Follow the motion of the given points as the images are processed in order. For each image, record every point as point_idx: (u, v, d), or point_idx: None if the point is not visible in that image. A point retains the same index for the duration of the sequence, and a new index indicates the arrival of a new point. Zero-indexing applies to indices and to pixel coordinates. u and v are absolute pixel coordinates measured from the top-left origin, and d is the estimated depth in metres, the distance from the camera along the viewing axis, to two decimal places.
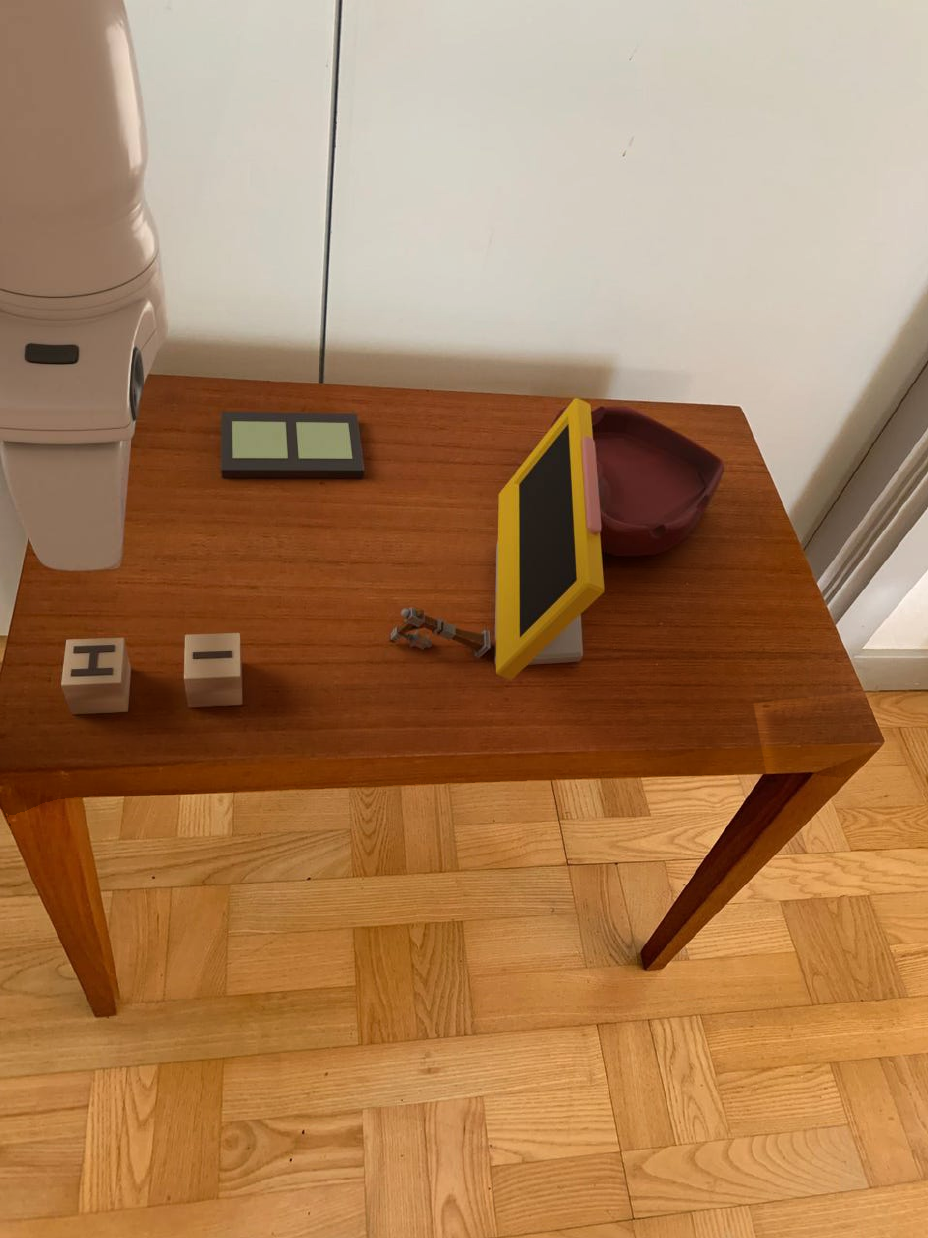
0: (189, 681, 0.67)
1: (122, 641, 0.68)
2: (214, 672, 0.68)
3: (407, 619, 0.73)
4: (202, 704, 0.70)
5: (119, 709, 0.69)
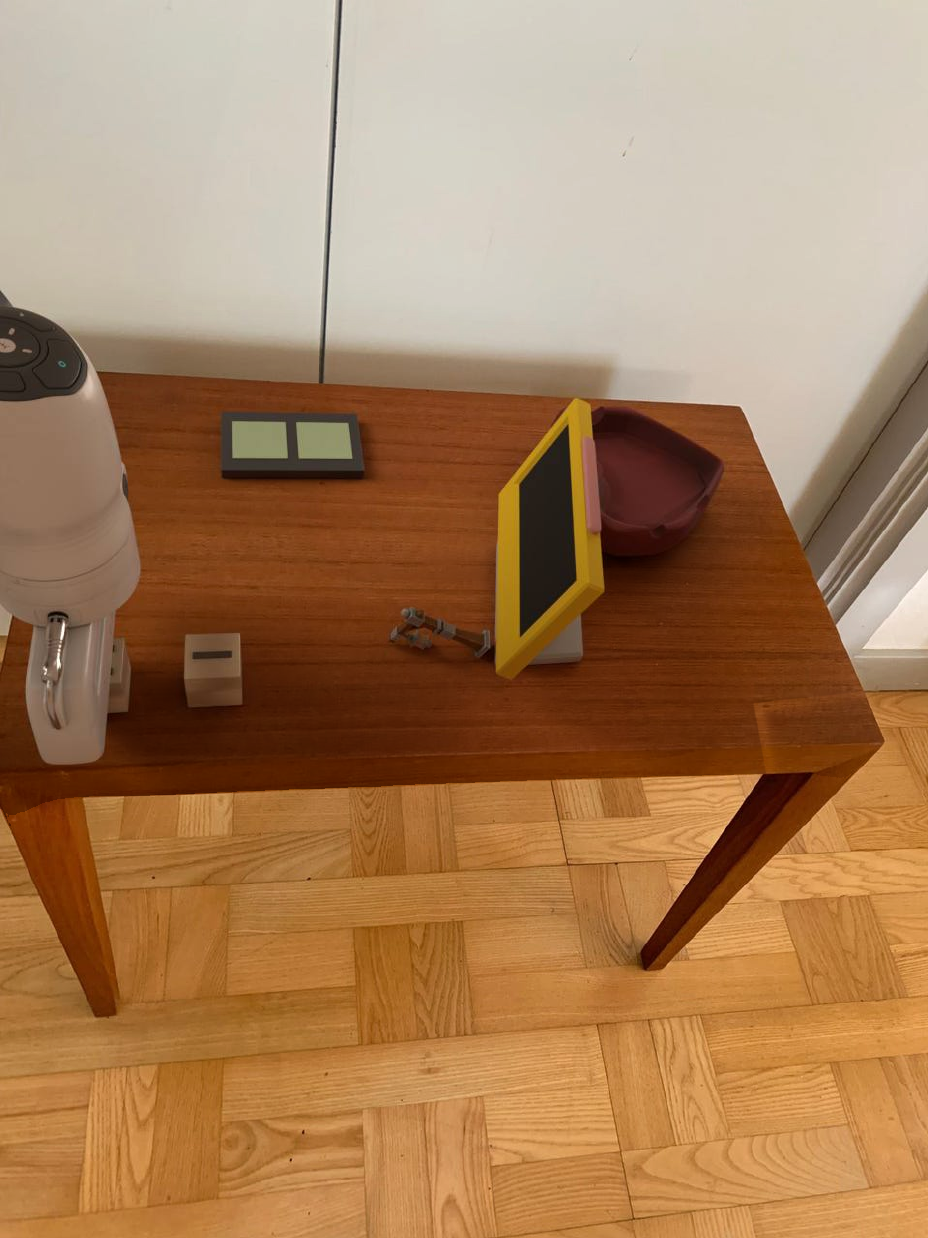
0: (189, 681, 0.67)
1: (122, 641, 0.68)
2: (214, 672, 0.68)
3: (407, 619, 0.73)
4: (202, 704, 0.70)
5: (119, 709, 0.69)
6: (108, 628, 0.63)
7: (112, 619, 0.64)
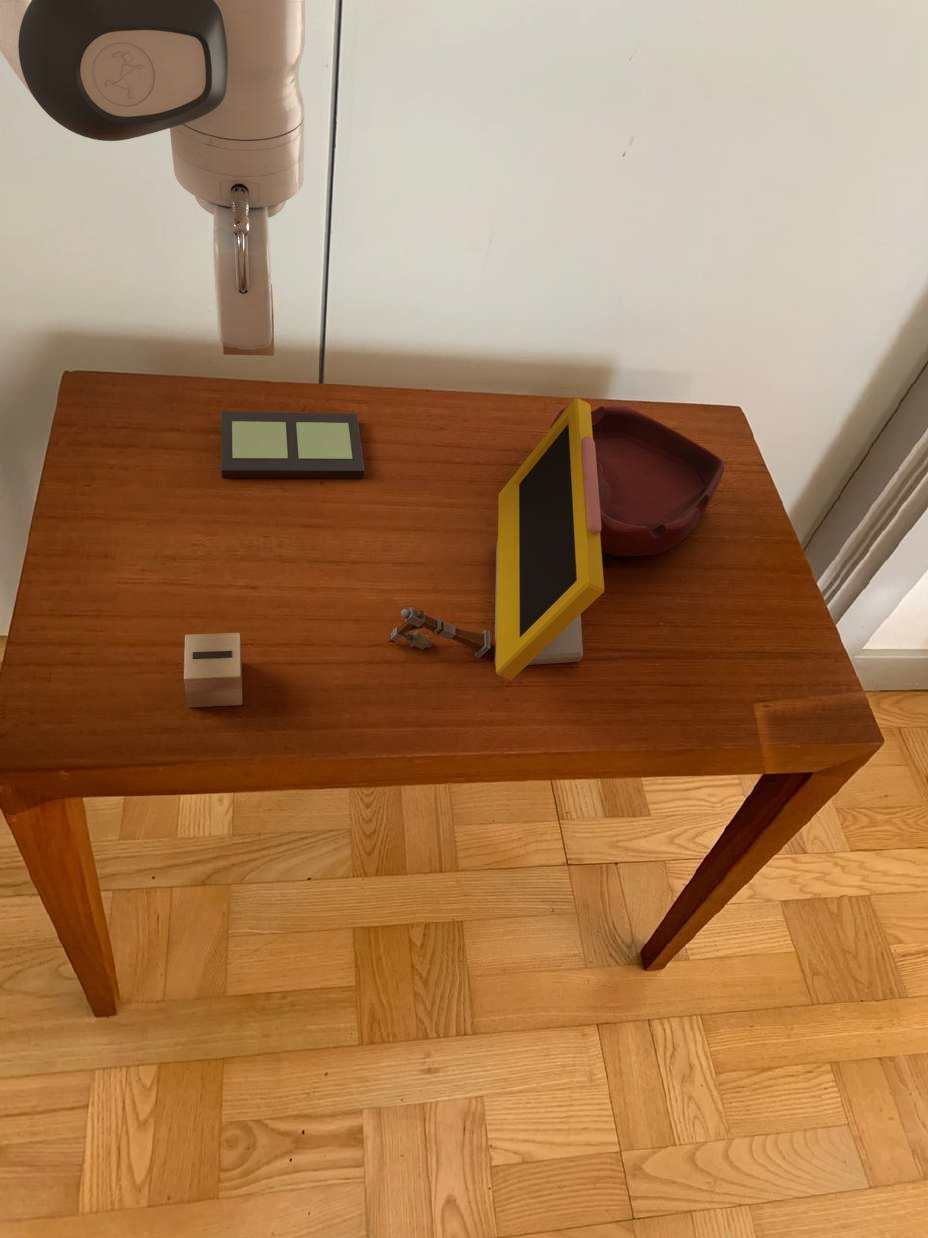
0: (189, 681, 0.67)
1: None
2: (214, 672, 0.68)
3: (407, 619, 0.73)
4: (202, 704, 0.70)
5: (266, 351, 0.74)
6: None
7: None
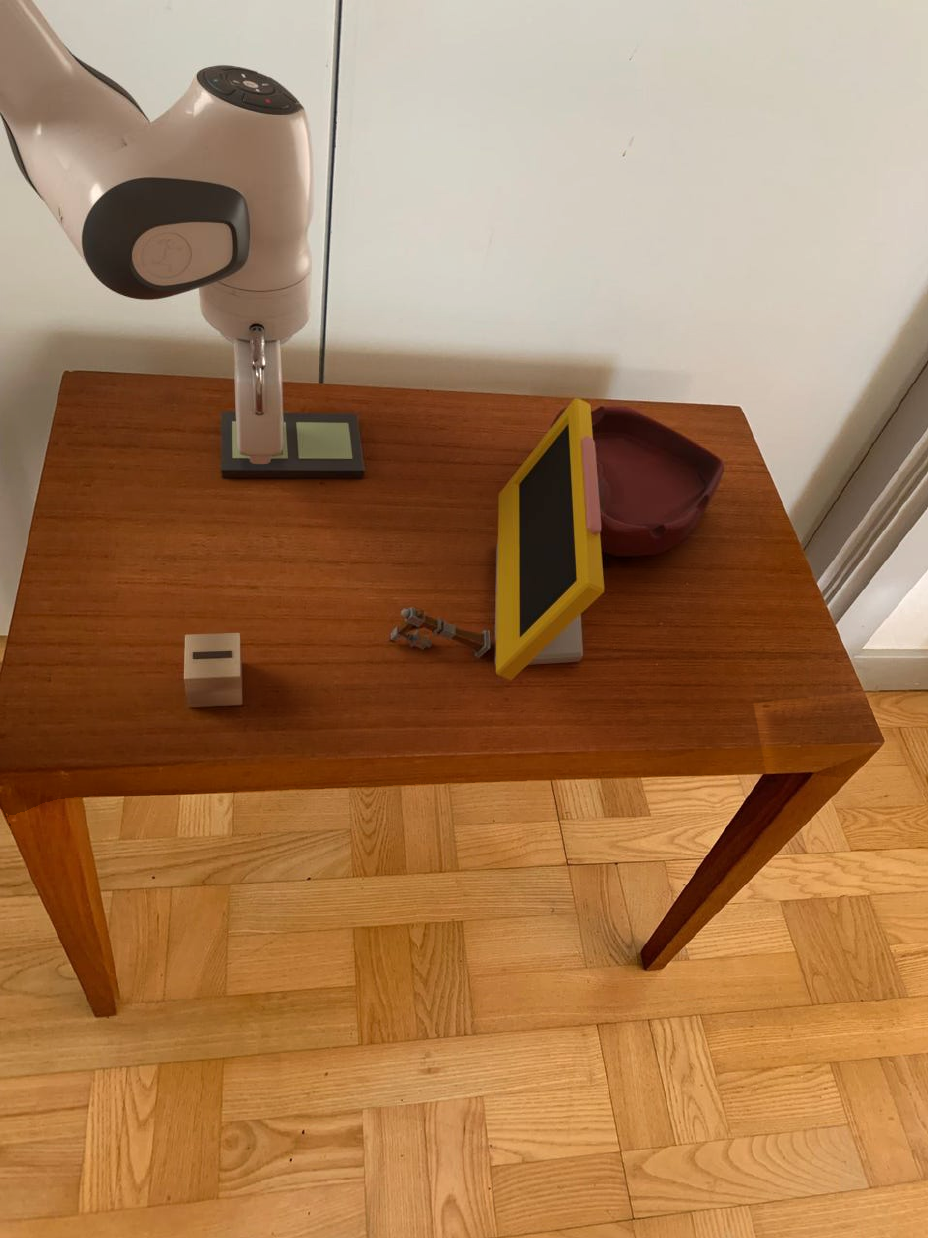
0: (189, 681, 0.67)
1: None
2: (214, 672, 0.68)
3: (407, 619, 0.73)
4: (202, 704, 0.70)
5: None
6: None
7: None
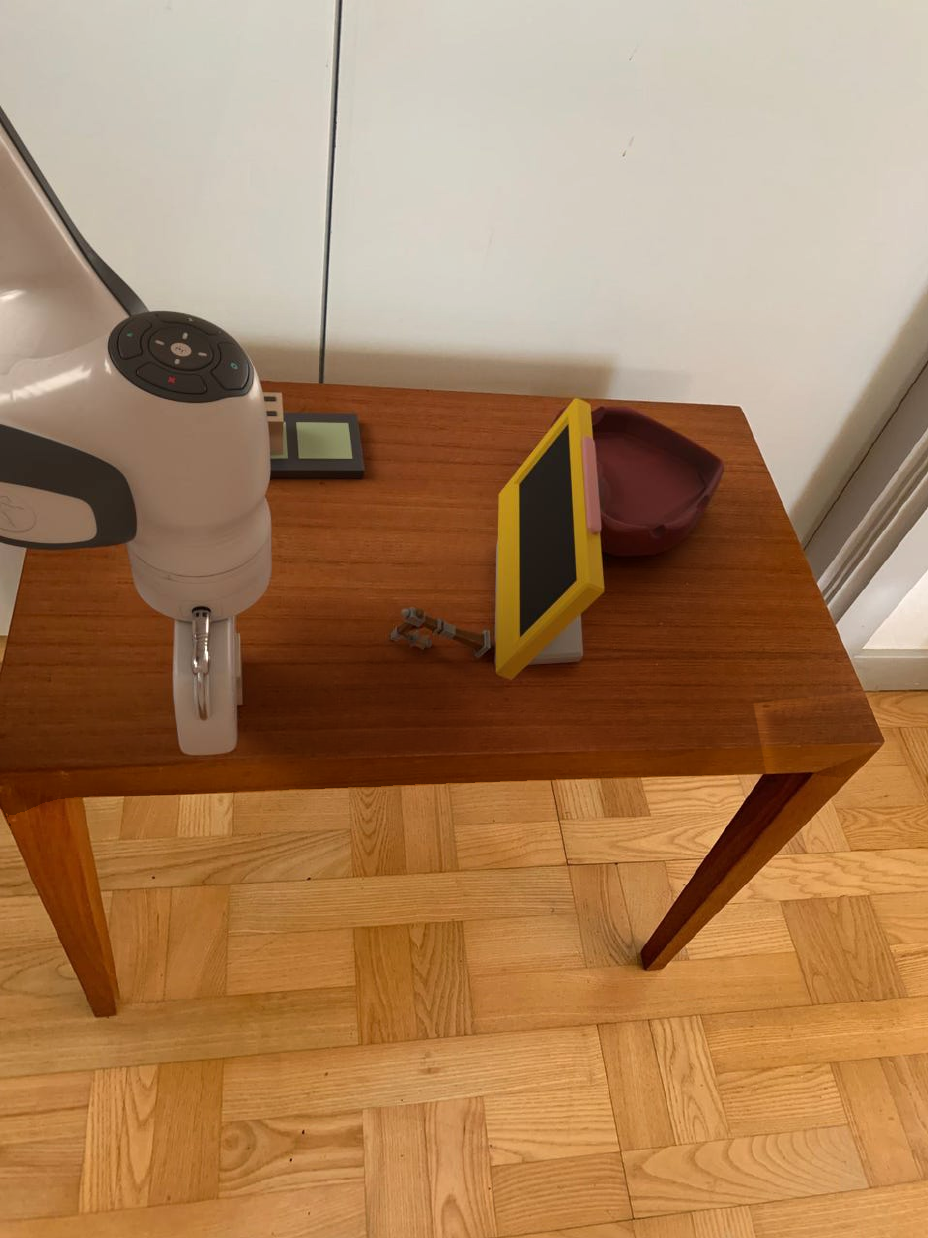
0: None
1: (281, 394, 0.85)
2: None
3: (407, 619, 0.73)
4: None
5: (277, 451, 0.86)
6: (234, 623, 0.65)
7: None
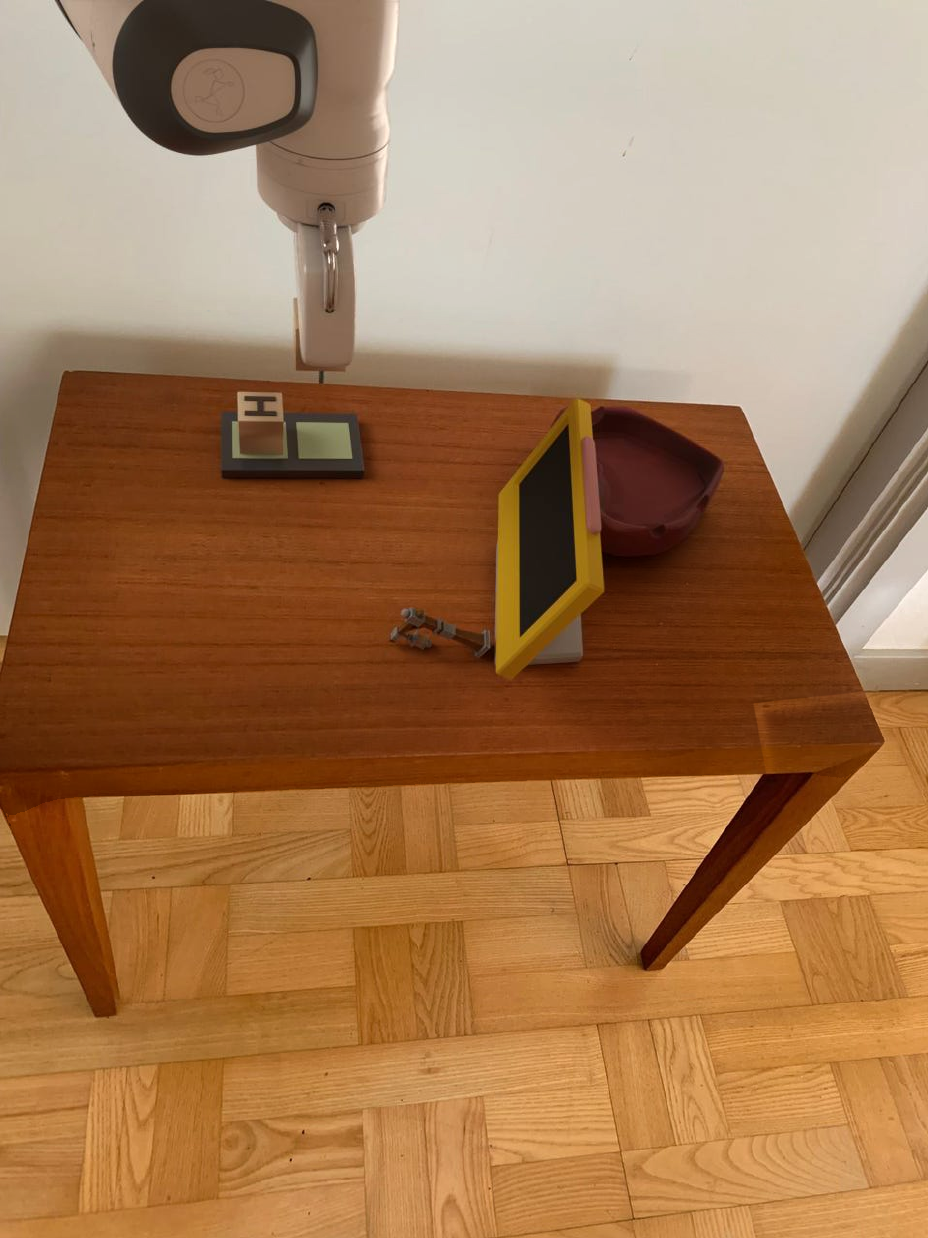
0: None
1: (281, 394, 0.85)
2: None
3: (407, 619, 0.73)
4: (309, 367, 0.74)
5: (277, 451, 0.86)
6: None
7: None
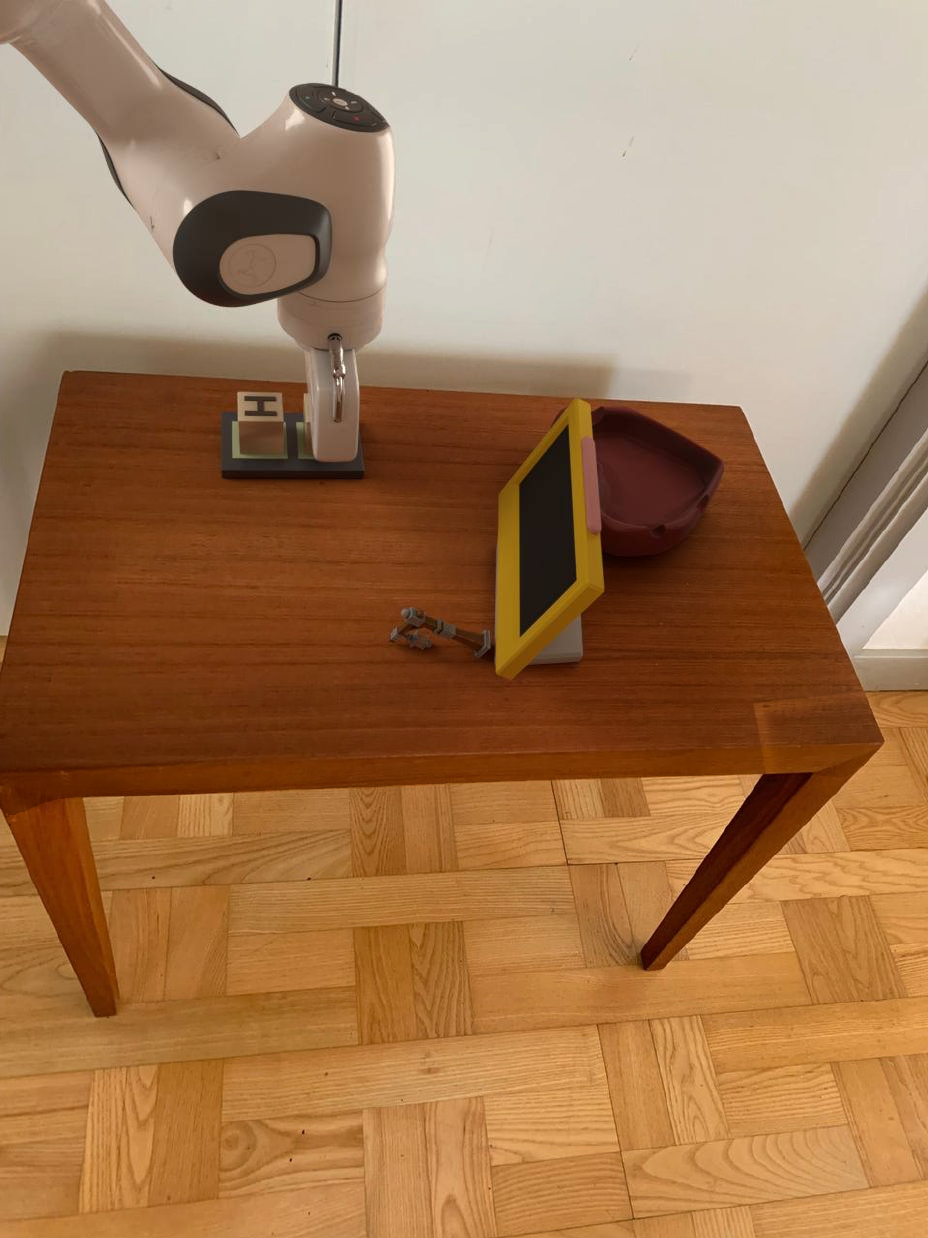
0: (310, 425, 0.84)
1: (281, 394, 0.85)
2: None
3: (407, 619, 0.73)
4: None
5: (277, 451, 0.86)
6: None
7: None
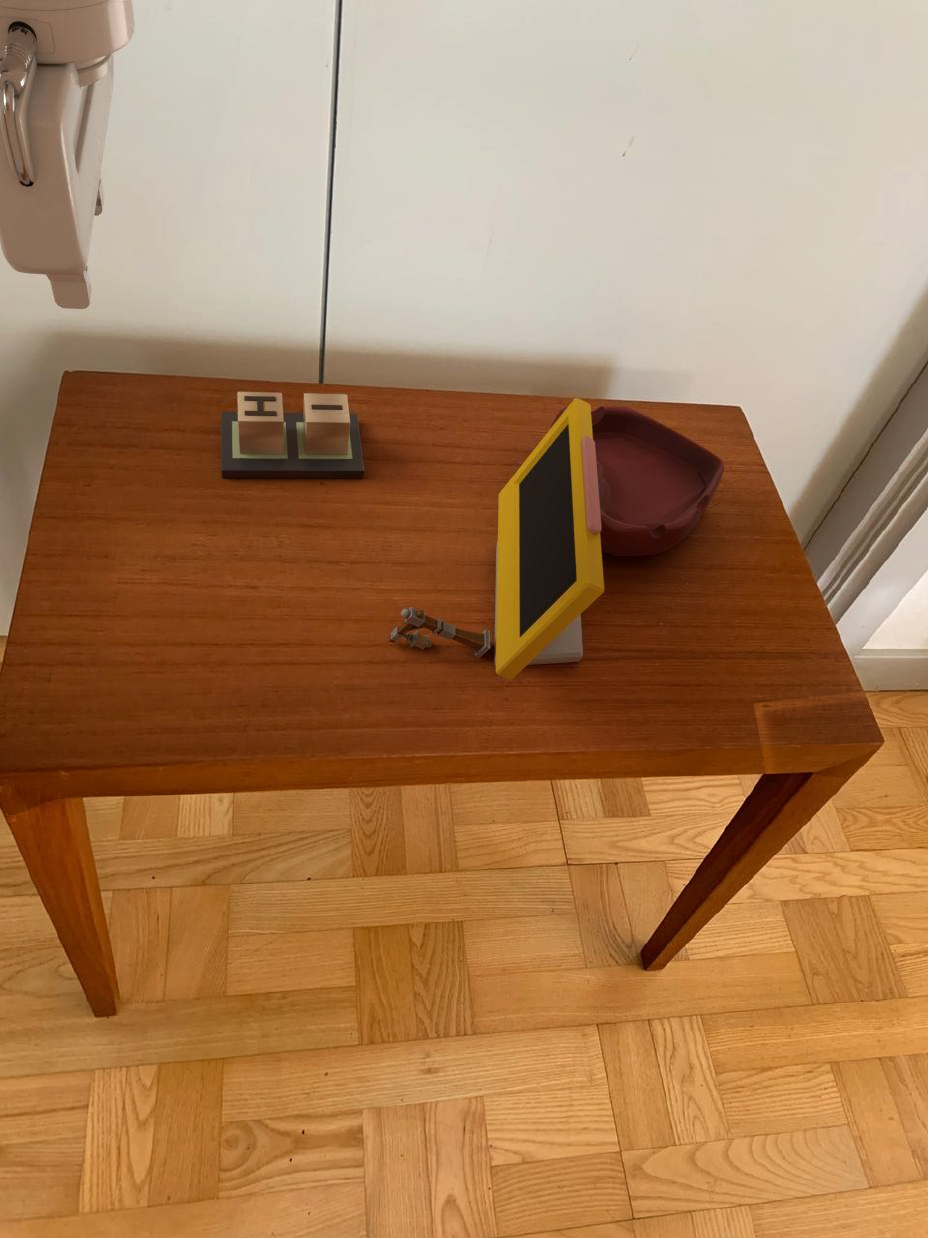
0: (310, 425, 0.84)
1: (281, 394, 0.85)
2: (329, 418, 0.84)
3: (407, 619, 0.73)
4: (317, 451, 0.87)
5: (277, 451, 0.86)
6: (93, 136, 0.48)
7: (99, 141, 0.50)
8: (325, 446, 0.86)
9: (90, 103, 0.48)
